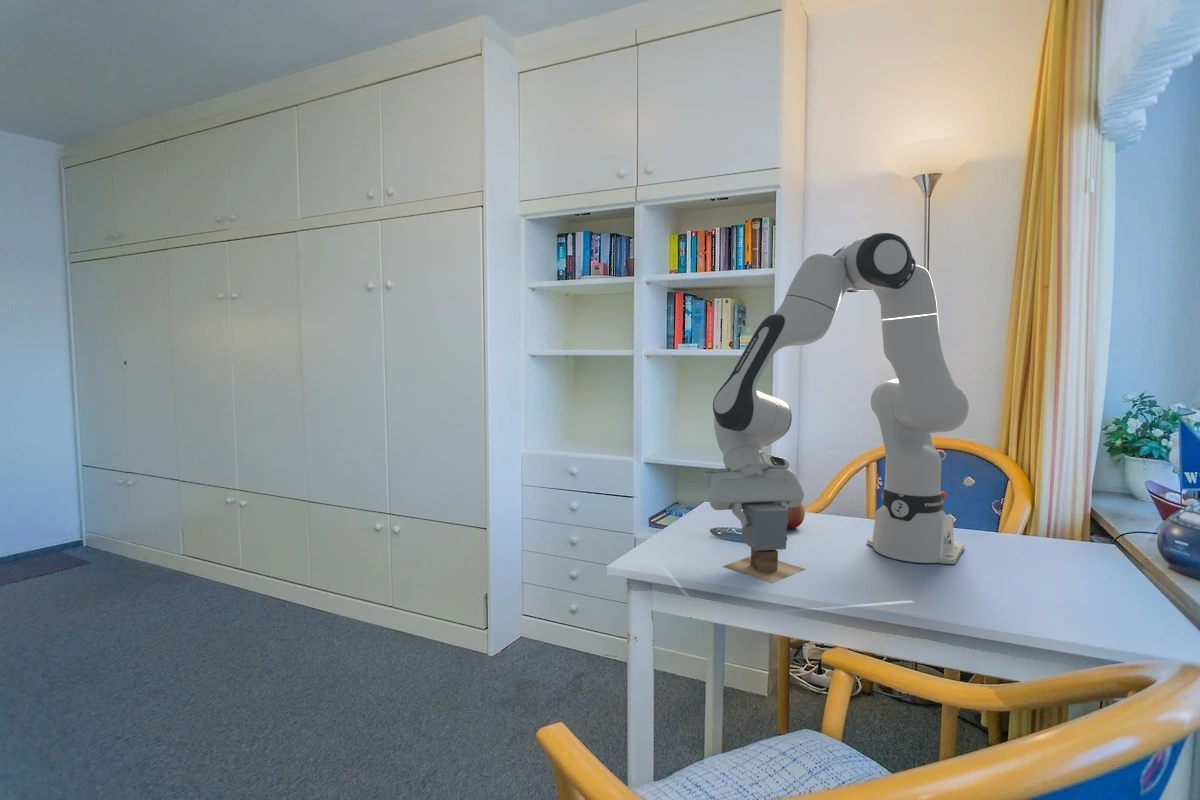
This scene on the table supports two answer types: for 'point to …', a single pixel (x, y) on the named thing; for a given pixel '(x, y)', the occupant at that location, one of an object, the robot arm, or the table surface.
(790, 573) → the cork mat
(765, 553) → the walnut block
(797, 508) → the fruit
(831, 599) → the table surface
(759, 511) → the plain grey cube
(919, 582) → the table surface
